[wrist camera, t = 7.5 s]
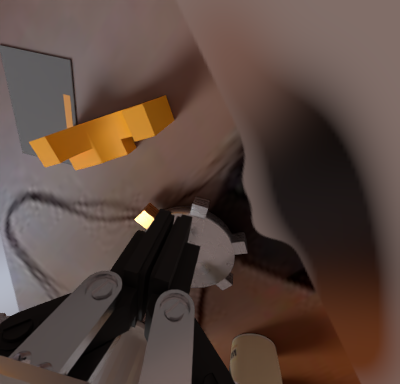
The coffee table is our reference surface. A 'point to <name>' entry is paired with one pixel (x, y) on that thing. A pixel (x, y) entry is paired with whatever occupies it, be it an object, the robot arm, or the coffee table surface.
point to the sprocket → (206, 242)
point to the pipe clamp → (104, 135)
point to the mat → (39, 94)
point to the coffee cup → (254, 360)
